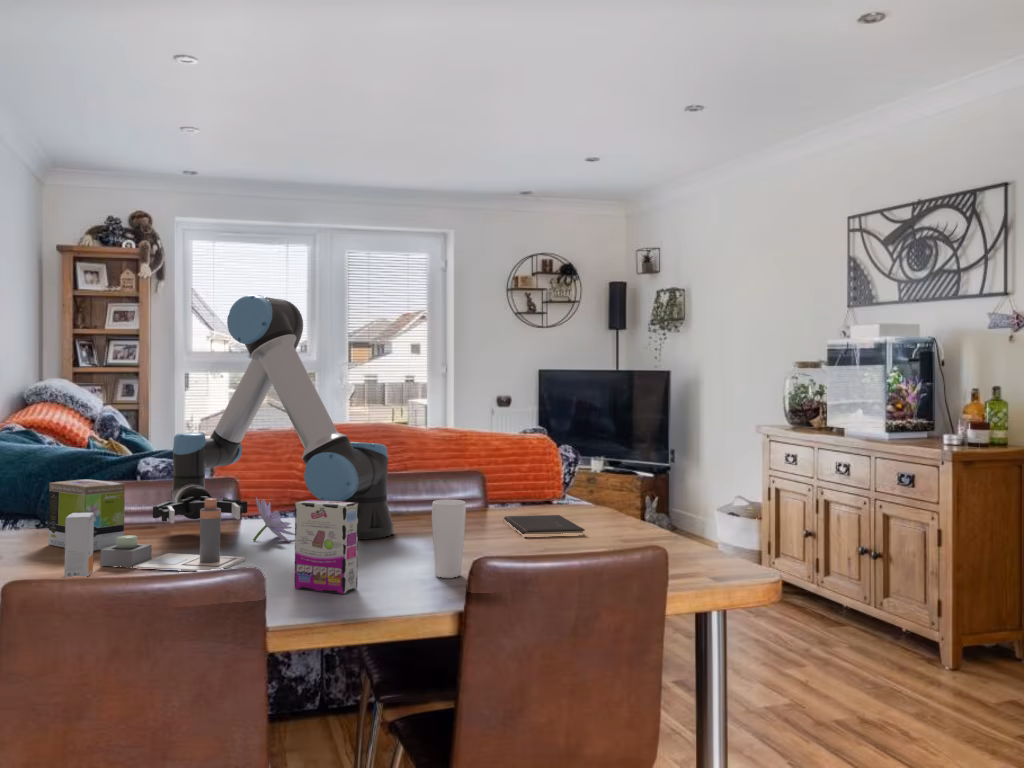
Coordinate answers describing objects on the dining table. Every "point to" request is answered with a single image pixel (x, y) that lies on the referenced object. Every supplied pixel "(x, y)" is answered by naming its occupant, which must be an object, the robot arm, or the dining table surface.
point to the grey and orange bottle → (210, 532)
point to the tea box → (87, 509)
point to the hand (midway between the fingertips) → (206, 514)
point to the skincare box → (79, 544)
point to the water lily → (272, 521)
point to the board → (188, 562)
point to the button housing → (126, 556)
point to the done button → (126, 542)
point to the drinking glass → (448, 536)
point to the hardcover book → (543, 524)
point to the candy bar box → (326, 546)
